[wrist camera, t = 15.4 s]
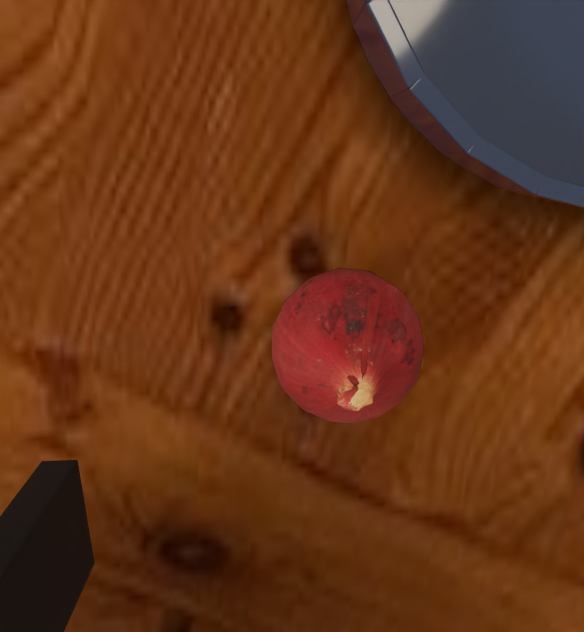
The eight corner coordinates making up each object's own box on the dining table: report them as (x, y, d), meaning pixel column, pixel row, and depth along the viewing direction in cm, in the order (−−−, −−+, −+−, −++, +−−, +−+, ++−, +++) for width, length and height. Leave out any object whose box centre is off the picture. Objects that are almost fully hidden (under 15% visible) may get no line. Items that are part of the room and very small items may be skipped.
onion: (279, 246, 23) (276, 297, 15) (410, 258, 23) (471, 313, 16) (269, 369, 25) (261, 469, 17) (390, 379, 25) (436, 482, 17)
